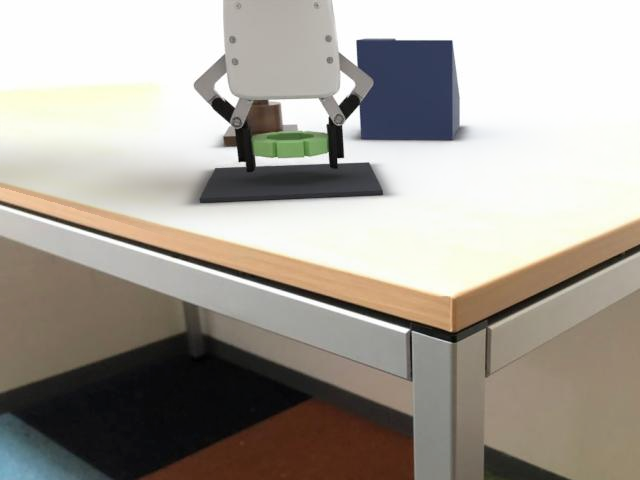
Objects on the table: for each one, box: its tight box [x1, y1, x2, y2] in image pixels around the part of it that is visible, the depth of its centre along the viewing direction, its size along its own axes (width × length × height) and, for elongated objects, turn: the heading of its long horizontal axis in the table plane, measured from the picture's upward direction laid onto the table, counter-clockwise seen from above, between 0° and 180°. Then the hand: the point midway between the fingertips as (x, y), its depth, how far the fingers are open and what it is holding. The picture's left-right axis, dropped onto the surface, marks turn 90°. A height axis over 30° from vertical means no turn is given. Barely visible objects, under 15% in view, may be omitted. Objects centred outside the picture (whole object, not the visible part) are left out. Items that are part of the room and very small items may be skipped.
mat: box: [199, 161, 384, 203], centre depth 72 cm, size 16×14×1 cm
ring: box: [251, 130, 329, 159], centre depth 71 cm, size 7×7×1 cm
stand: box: [222, 100, 299, 147], centre depth 96 cm, size 9×9×8 cm
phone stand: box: [355, 38, 461, 141], centre depth 100 cm, size 12×12×12 cm
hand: (292, 166), depth 72 cm, fingers closed on ring, 7 cm apart
